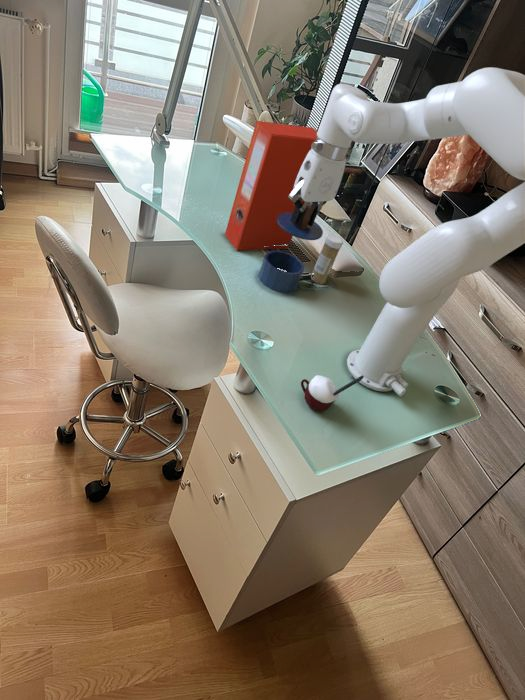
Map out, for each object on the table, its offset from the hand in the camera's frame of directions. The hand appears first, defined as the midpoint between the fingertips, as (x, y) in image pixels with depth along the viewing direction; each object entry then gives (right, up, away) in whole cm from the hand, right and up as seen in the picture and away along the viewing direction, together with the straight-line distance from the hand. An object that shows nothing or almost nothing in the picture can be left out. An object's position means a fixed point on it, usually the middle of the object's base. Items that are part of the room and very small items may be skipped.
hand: (301, 223), depth 119 cm
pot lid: (0, -1, +1) cm, 1 cm away
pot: (-5, -13, +11) cm, 18 cm away
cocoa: (+2, -42, -18) cm, 45 cm away
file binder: (-11, 0, +24) cm, 26 cm away
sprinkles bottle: (+6, -11, +18) cm, 22 cm away
